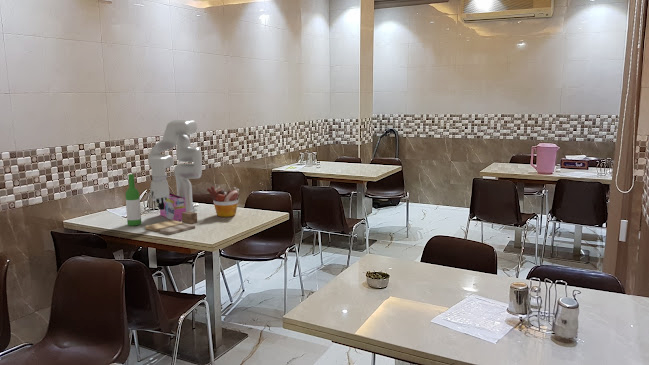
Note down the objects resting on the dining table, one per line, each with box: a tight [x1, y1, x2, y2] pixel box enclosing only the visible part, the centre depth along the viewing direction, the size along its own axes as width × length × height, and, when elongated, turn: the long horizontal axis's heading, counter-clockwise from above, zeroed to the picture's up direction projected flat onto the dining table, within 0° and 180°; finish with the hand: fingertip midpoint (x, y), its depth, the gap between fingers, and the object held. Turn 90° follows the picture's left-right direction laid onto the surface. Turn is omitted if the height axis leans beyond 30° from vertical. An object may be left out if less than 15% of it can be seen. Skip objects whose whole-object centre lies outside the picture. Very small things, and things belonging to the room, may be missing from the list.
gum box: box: [159, 192, 186, 222], centre depth 317 cm, size 24×8×14 cm, turn 41°
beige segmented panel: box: [144, 219, 184, 233], centre depth 292 cm, size 18×12×2 cm, turn 143°
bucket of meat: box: [207, 185, 240, 218], centre depth 320 cm, size 20×16×20 cm
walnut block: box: [181, 211, 198, 225], centre depth 304 cm, size 5×8×6 cm, turn 53°
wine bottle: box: [124, 173, 142, 227], centre depth 297 cm, size 8×8×30 cm
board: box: [158, 222, 196, 236], centre depth 286 cm, size 18×9×2 cm, turn 143°
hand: (161, 209), depth 294 cm, fingers closed
